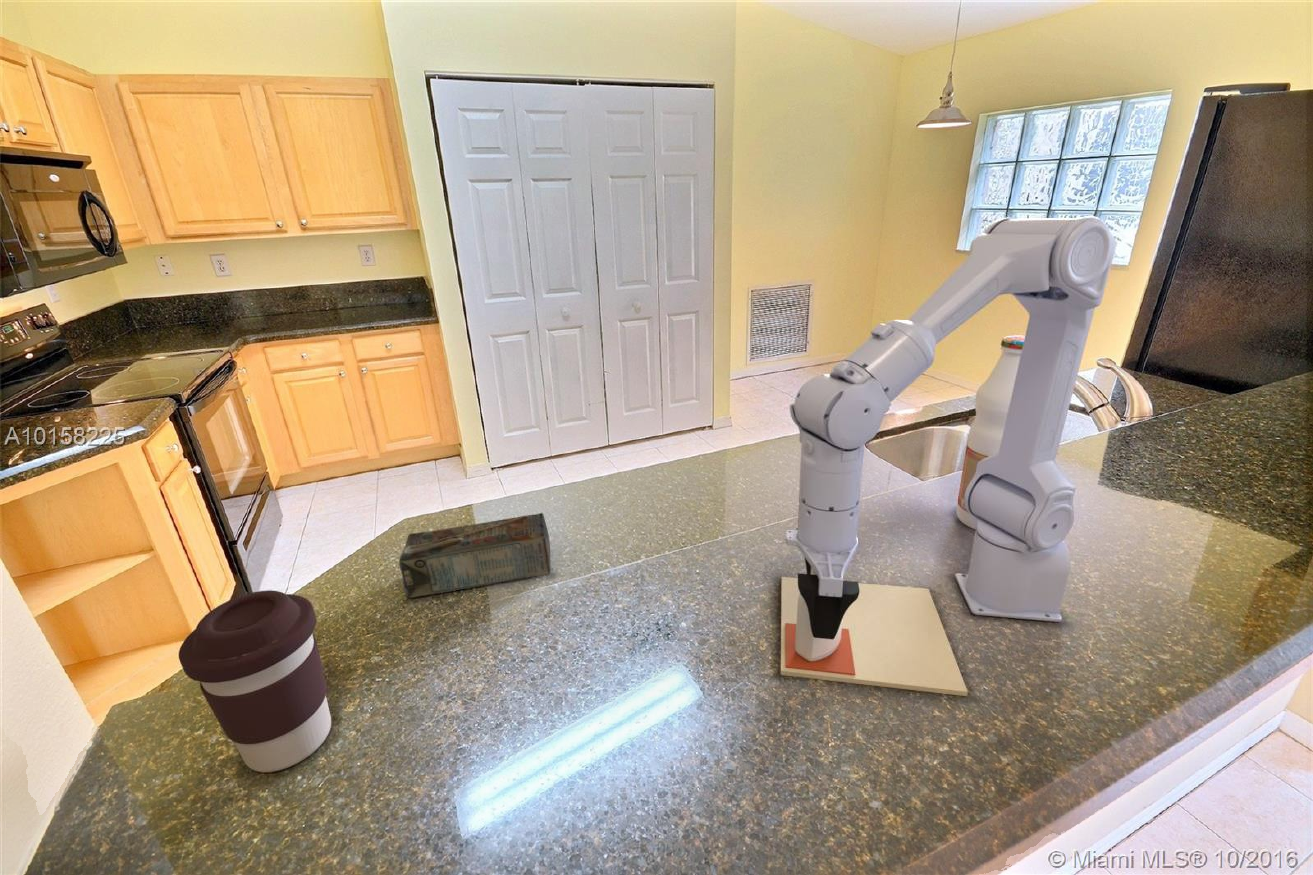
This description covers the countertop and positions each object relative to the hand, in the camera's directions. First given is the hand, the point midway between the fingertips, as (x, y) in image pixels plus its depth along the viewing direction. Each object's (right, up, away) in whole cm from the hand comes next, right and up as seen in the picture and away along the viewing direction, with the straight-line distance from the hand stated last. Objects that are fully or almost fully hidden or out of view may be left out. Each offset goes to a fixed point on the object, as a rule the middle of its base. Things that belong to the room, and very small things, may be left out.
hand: (821, 612), depth 61 cm
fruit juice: (+33, +6, +27) cm, 43 cm away
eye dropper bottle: (0, -5, +2) cm, 5 cm away
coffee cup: (-53, -11, -6) cm, 54 cm away
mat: (+6, -4, +5) cm, 9 cm away
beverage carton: (-42, -1, +19) cm, 46 cm away
